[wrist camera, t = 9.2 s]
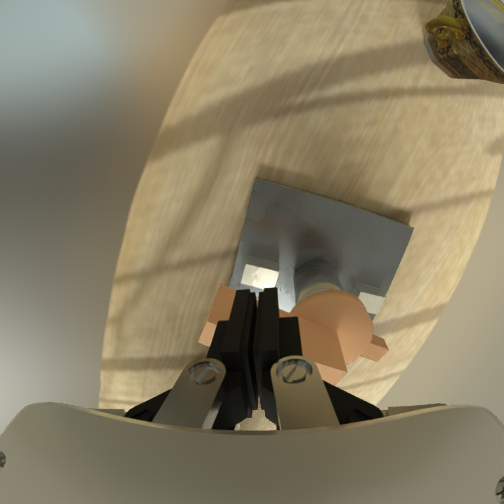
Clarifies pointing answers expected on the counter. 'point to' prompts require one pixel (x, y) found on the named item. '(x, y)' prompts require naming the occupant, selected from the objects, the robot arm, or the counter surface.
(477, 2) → the ceramic cup
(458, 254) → the counter surface
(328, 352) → the orange lever handle
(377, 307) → the grey plate with posts
